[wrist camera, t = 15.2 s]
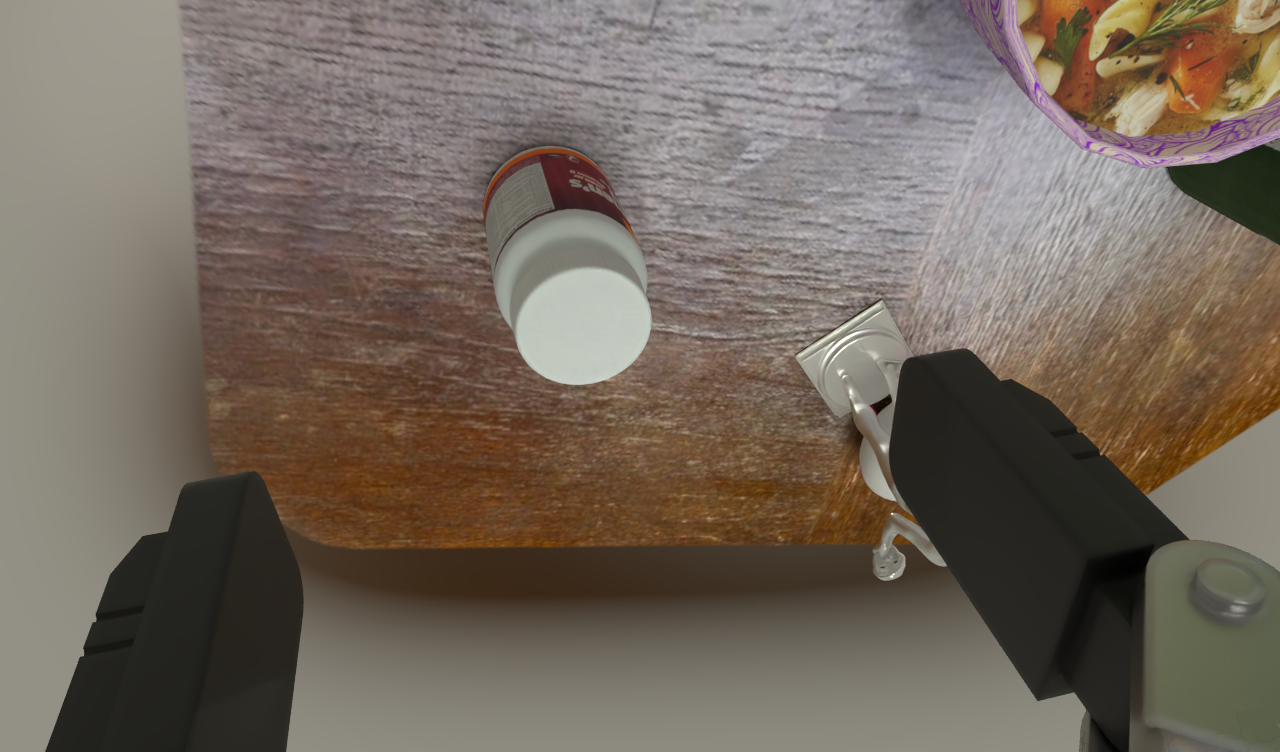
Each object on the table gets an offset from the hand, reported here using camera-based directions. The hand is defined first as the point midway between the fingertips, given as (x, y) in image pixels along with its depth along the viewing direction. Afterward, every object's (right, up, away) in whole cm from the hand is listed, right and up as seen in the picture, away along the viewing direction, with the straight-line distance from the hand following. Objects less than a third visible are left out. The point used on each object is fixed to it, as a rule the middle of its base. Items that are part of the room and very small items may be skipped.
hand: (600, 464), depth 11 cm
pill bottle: (-4, +9, +30) cm, 32 cm away
